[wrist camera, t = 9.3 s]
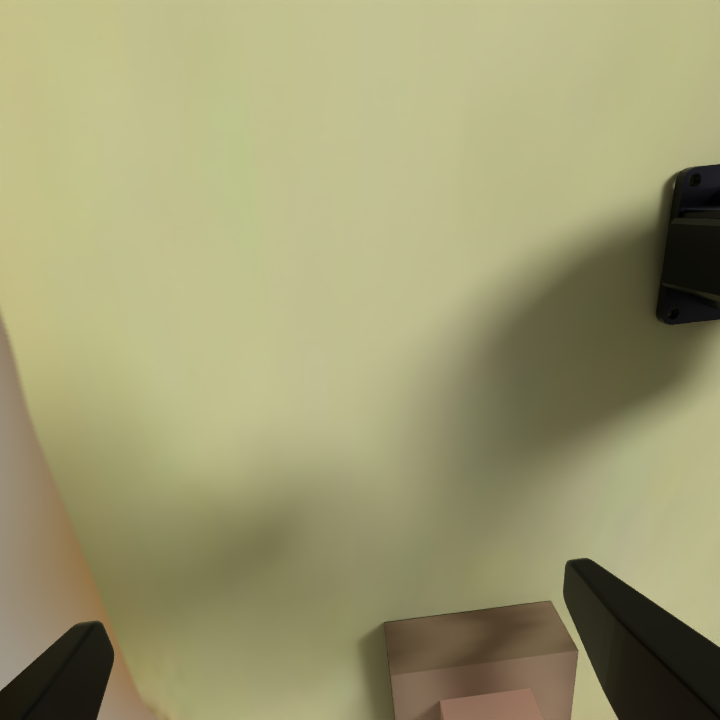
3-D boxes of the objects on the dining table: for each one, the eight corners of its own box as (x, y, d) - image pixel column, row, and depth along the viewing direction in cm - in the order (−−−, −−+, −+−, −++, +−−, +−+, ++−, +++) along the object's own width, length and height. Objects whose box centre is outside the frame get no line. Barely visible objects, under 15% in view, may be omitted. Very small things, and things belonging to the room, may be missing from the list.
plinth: (550, 600, 25) (578, 650, 22) (542, 710, 29) (565, 764, 26) (384, 622, 25) (390, 675, 22) (395, 730, 28) (403, 787, 26)
